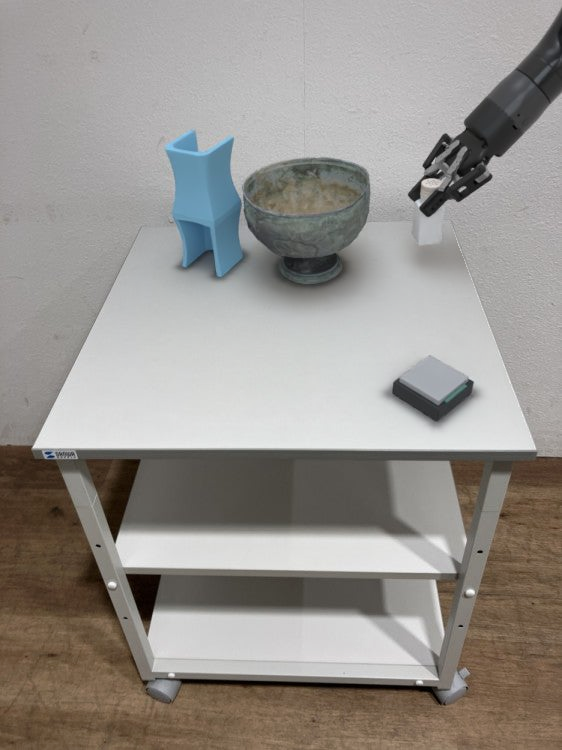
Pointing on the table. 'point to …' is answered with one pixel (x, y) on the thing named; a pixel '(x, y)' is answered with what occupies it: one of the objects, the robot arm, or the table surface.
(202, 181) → the blue curved channel stand
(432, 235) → the salt shaker
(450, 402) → the kitchen scale
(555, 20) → the robot arm
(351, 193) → the bowl
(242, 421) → the table surface
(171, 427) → the table surface
